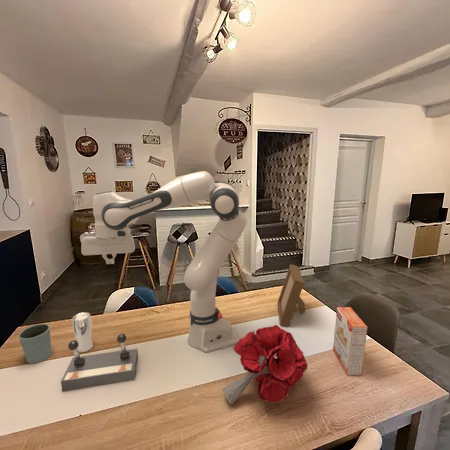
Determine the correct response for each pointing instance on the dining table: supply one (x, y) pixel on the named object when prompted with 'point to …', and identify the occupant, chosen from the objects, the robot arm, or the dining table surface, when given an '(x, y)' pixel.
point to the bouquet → (268, 364)
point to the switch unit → (100, 370)
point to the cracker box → (349, 340)
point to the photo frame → (290, 296)
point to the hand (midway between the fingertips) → (110, 263)
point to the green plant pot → (36, 343)
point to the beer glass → (83, 331)
